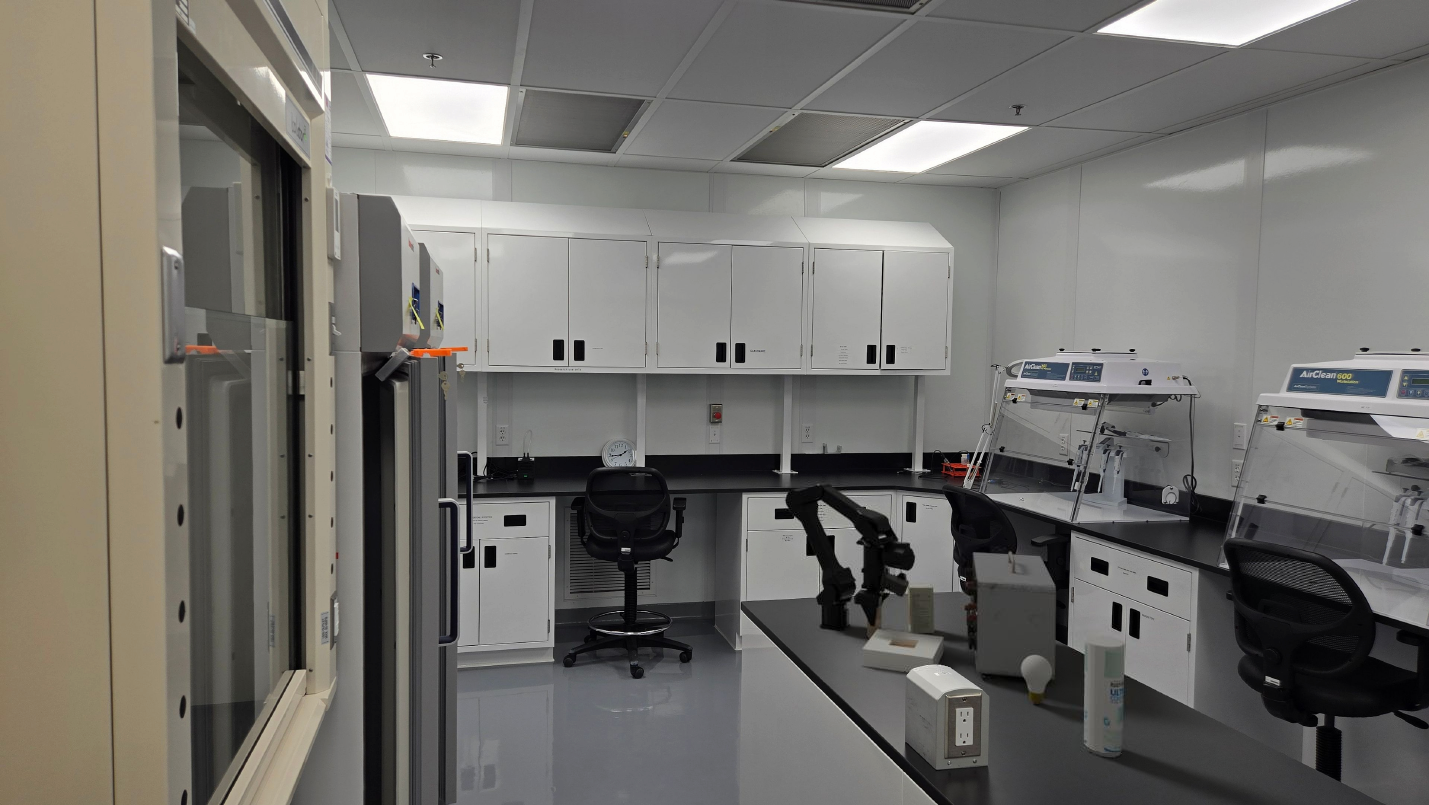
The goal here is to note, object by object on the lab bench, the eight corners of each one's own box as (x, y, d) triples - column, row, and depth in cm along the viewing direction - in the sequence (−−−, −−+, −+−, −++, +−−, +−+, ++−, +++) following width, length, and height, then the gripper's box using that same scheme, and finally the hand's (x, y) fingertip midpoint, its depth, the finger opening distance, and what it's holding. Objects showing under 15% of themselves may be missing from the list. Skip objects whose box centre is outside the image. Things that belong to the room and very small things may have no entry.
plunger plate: (889, 654, 192) (889, 651, 192) (894, 647, 197) (894, 644, 197) (913, 657, 190) (913, 654, 190) (917, 650, 195) (917, 647, 195)
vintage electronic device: (963, 634, 212) (964, 539, 211) (1038, 640, 207) (1039, 543, 206) (967, 679, 181) (968, 568, 180) (1054, 688, 176) (1056, 573, 175)
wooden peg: (865, 638, 209) (865, 600, 209) (869, 634, 212) (869, 596, 212) (879, 640, 207) (879, 601, 207) (882, 636, 211) (883, 598, 210)
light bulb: (1050, 700, 170) (1051, 652, 169) (1052, 711, 164) (1053, 662, 164) (1020, 696, 172) (1020, 649, 171) (1021, 707, 166) (1021, 659, 166)
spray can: (1111, 761, 143) (1112, 649, 142) (1076, 748, 148) (1077, 639, 148) (1129, 751, 147) (1131, 642, 146) (1095, 738, 152) (1096, 632, 151)
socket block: (862, 665, 190) (862, 648, 190) (877, 644, 204) (877, 628, 204) (932, 676, 183) (932, 658, 183) (943, 653, 198) (943, 637, 198)
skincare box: (931, 628, 217) (931, 583, 216) (934, 634, 212) (934, 587, 212) (907, 628, 217) (907, 582, 217) (909, 633, 213) (909, 587, 213)
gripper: (898, 575, 197) (898, 639, 198) (913, 558, 214) (912, 617, 215) (853, 571, 202) (853, 633, 202) (871, 555, 219) (870, 612, 219)
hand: (874, 623), depth 210 cm, fingers closed on wooden peg, 4 cm apart
